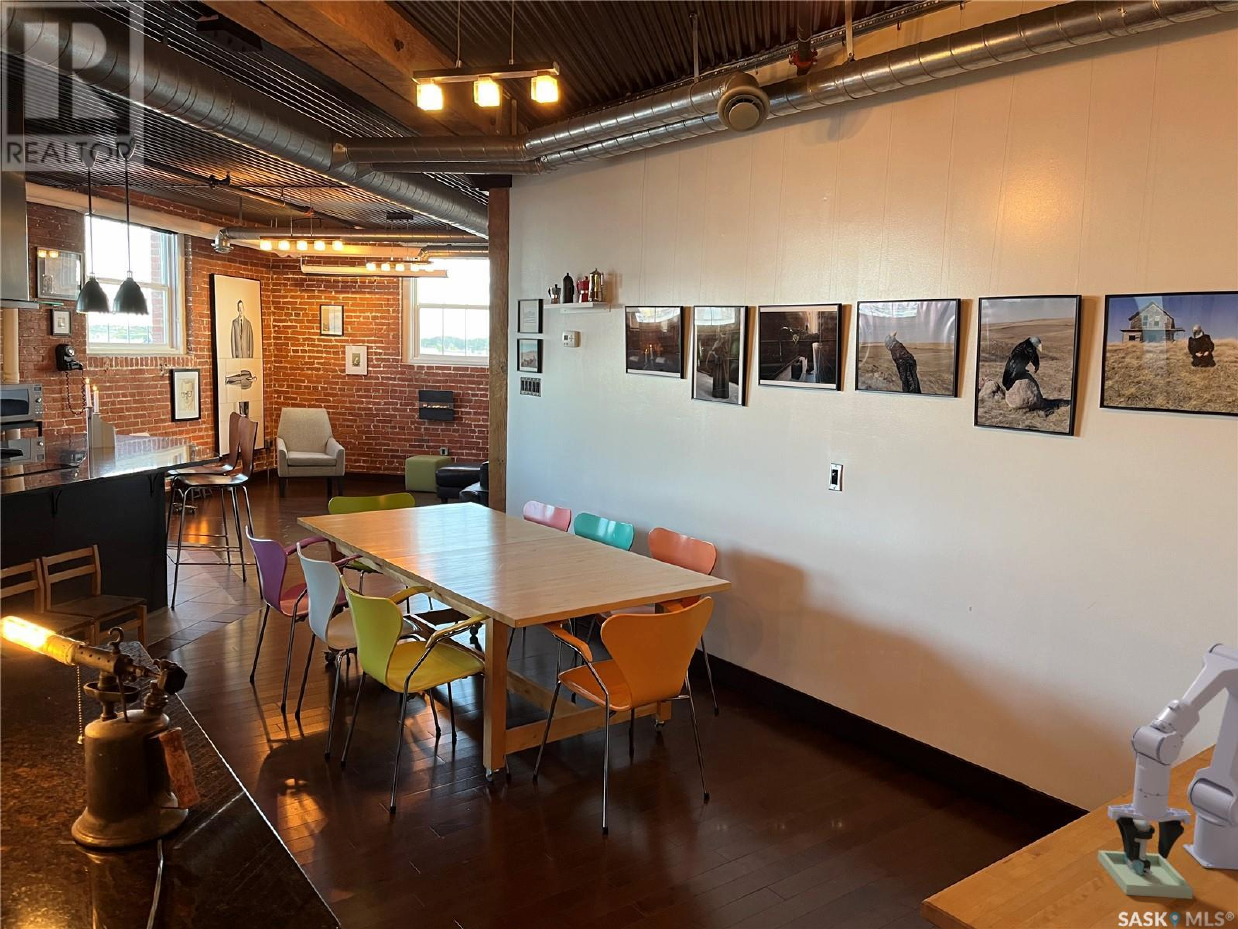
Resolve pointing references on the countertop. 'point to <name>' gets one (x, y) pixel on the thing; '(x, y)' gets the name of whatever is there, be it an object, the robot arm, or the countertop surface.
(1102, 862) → the tray
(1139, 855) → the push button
